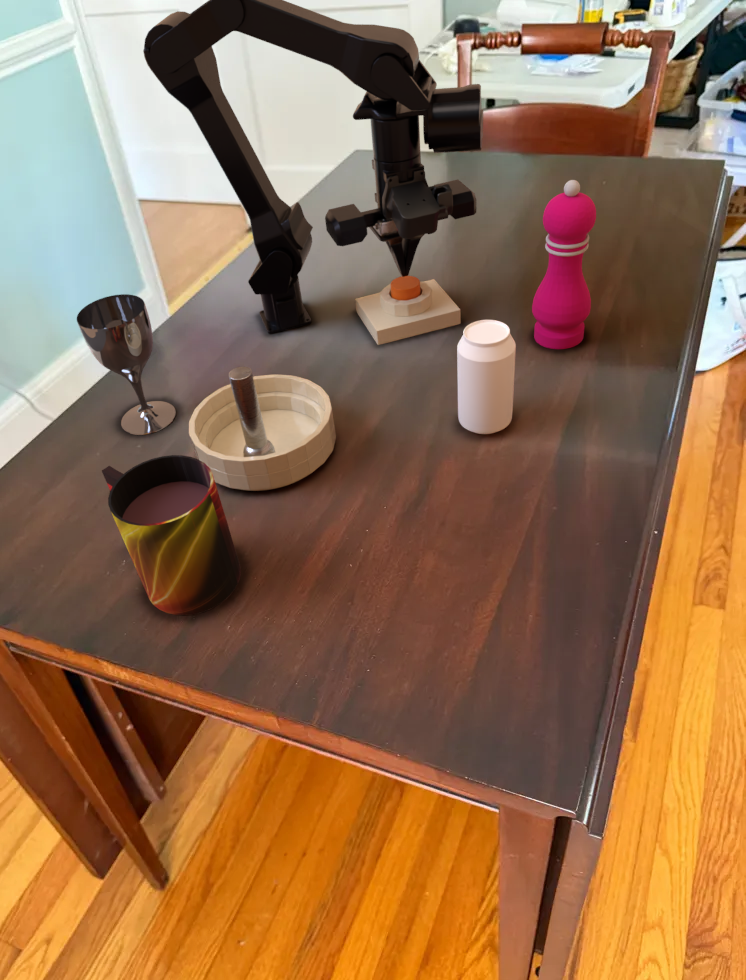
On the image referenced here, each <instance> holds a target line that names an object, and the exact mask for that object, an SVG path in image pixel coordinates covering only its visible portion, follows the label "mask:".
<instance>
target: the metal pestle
mask: <svg viewBox="0 0 746 980" xmlns="http://www.w3.org/2000/svg"><path fill="white" fill-rule="evenodd" d="M253 377H254V375H253V371H252V369H251V368H250V367H248V366H238V367H234V368H233V369H231V370H230V371H229V372H228V378H229V384H231V387H232V391H233V395H234V399H235V403H236V407H237V411H238V415H239V419H240V423H241V427H242V431H243V435H244V439H245V442H246V445H245V447H244V450H243V456H244V457H253V456H264V455H268V454H272V453H275V448H274V446H273V444H272V443H271V442H270V441H269V440H268V439H267V436H266V432H265V427H264V423H263V419H262V414H261V410H260V406H259V401H258V397H257V392H256V388H255V384H254V379H253Z"/></svg>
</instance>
